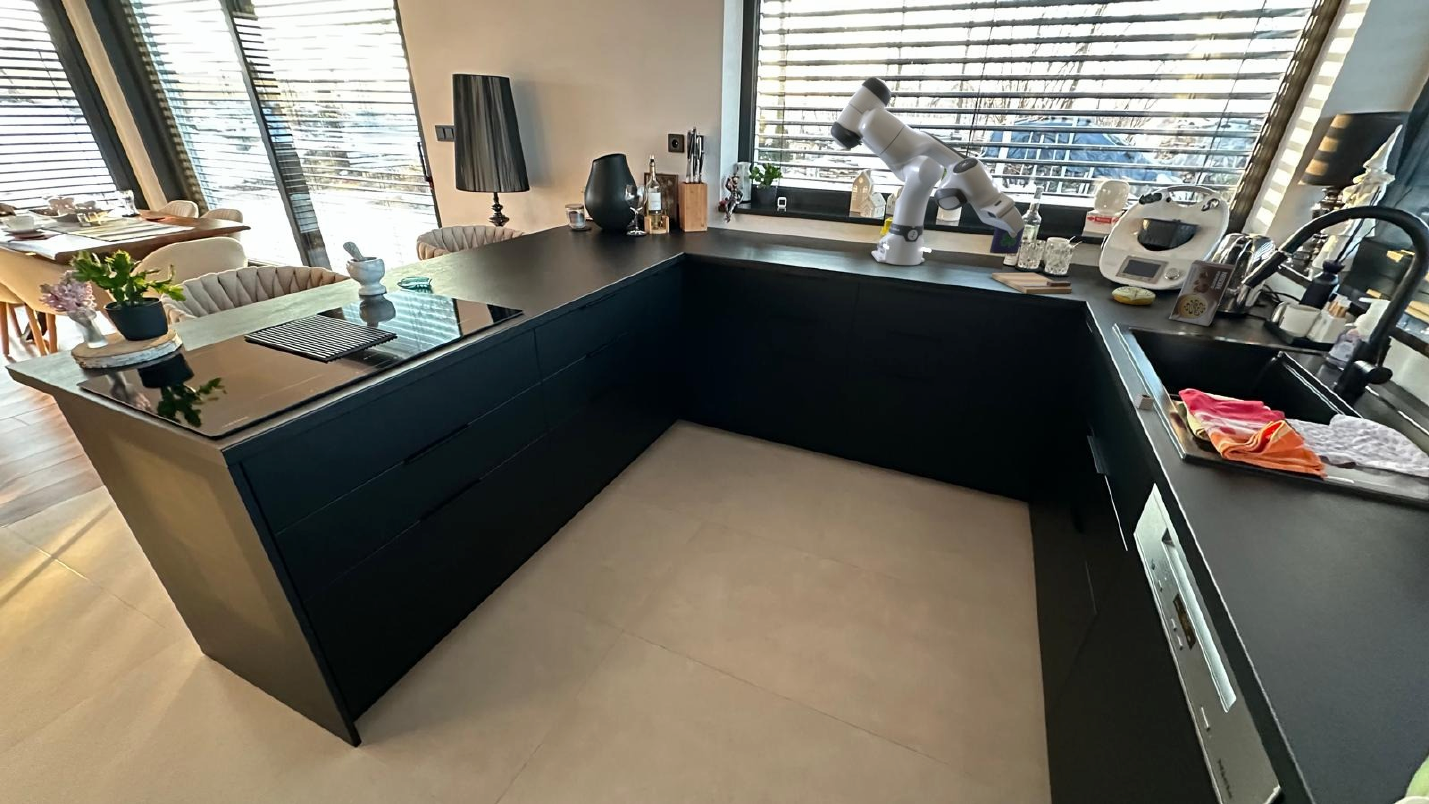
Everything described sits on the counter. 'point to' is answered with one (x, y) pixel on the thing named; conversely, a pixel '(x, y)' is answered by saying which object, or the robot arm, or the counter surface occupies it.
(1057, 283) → the knife
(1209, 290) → the coffee box
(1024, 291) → the cutting board
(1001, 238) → the flask
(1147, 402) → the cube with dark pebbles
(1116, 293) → the decorated donut
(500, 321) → the counter surface
